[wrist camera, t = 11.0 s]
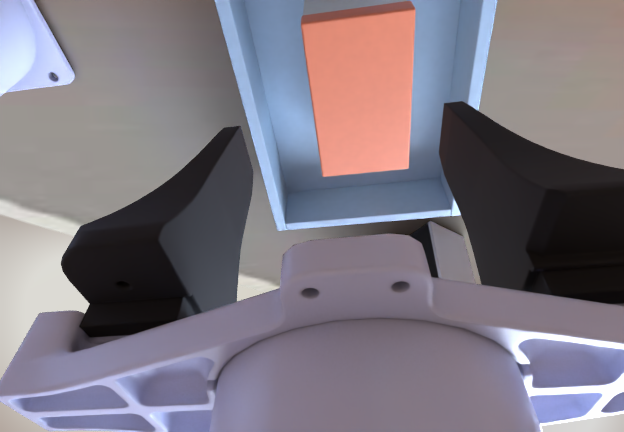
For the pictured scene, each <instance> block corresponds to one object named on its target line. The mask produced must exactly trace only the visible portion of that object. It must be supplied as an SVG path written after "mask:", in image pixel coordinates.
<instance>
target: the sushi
mask: <svg viewBox="0 0 624 432" xmlns="http://www.w3.org/2000/svg"><path fill="white" fill-rule="evenodd" d="M415 13H416V9H415V7H414V5H413V3H412V2H411V1H407V0H304V9H303V16H302V17H301V31H302V38H303V45H304V52H305V59H306V66H307V73H308V80H309V87H310V94H311V101H312V108H313V115H314V122H315V129H316V136H317V143H318V150H319V157H320V164H321V170H322V176H323V177H328V176H338V175H349V174H359V173H369V172H380V171H390V170H400V169H408V168H409V152H410V129H411V106H412V83H413V60H414V36H415Z"/></svg>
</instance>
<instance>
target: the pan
mask: <svg viewBox="0 0 624 432" xmlns="http://www.w3.org/2000/svg"><path fill="white" fill-rule="evenodd" d="M407 1H411V2H412V3H413V5H414V7H415V9H416V13H415V36H414V60H413V83H412V106H411V129H410V152H409V168H408V169H400V170H390V171H380V172H369V173H359V174H349V175H338V176H328V177H323V176H322V170H321V164H320V157H319V150H318V143H317V136H316V129H315V122H314V115H313V108H312V101H311V94H310V87H309V80H308V73H307V66H306V59H305V52H304V45H303V38H302V31H301V17H302V16H303V9H304V0H215V4H216V8H217V11H218V15H219V19H220V22H221V26H222V30H223V33H224V37H225V41H226V44H227V48H228V52H229V55H230V59H231V63H232V66H233V70H234V74H235V77H236V81H237V85H238V88H239V92H240V96H241V99H242V103H243V107H244V110H245V114H246V118H247V121H248V125H249V129H250V132H251V136H252V140H253V143H254V147H255V151H256V154H257V158H258V162H259V165H260V169H261V173H262V176H263V180H264V184H265V187H266V191H267V195H268V198H269V202H270V206H271V209H272V213H273V217H274V220H275V224H276V228H277V230H278V231H281V230H286V229H287V230H292V229H304V228H315V227H327V226H339V225H351V224H362V223H374V222H386V221H398V220H409V219H421V218H433V217H444V216H450V215H451V216H456V215H461V213H460V211H459V209H458V206H457V204H456V202H455V199H454V197H453V195H452V192H451V190H450V188H449V185H448V183H447V180H446V178H445V175H444V172H443V168H442V164H441V160H440V156H439V145H440V136H441V126H442V117H443V108H444V103H450V102H459V101H463V102H465V103H467V104H468V105H470V106H471V107H473V108H474V109H476V110H479V104H480V98H481V92H482V86H483V80H484V74H485V69H486V63H487V57H488V51H489V45H490V39H491V33H492V27H493V22H494V16H495V10H496V4H497V0H407Z"/></svg>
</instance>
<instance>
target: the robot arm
mask: <svg viewBox="0 0 624 432" xmlns="http://www.w3.org/2000/svg"><path fill="white" fill-rule="evenodd" d="M51 72H53V73H55V74H56V75H57V76H58V78H56V77H54V76H53V75H52V73H51ZM74 79H75V74H74V72H73V70H72V68H71V66H70V64H69V63H68V61H67V59H66V57H65V55H64V54H63V52H62V50H61V48H60V47H59V45H58V43H57V41H56V39H55V38H54V36H53V34H52V32H51V30H50V29H49V27H48V25H47V23H46V21H45V20H44V18H43V16H42V14H41V12H40V11H39V9H38V7H37V5H36V3H35V2H34V0H0V96H1V95H3V94H4V93H5V92H11V91H19V90H27V89H35V88H42V87H50V86H58V85H66V84H70V83H71V82H72V81H73V80H74ZM439 156H440V160H441V164H442V168H443V172H444V175H445V178H446V180H447V183H448V185H449V188H450V190H451V192H452V195H453V197H454V199H455V202H456V204H457V206H458V209H459V211H460V213H461V216H462V218H463V220H464V223H465V226H466V228H467V231H468V235H469V238H470V242H471V245H472V249H473V252H474V256H475V260H476V264H477V268H478V272H479V275H480V280H481V284H482V285H480V284H473V283H467V282H460V281H453V280H447V279H440V278H434V277H431V274H430V270H429V266H428V263H427V259H426V255H425V252H424V249H423V246H422V243H420V242H419V241H417V240H415V239H414V238H412V237H411V236H409V235H400V234H378V235H366V236H354V237H342V238H330V239H318V240H310V241H306V242H303V243H299V244H295V245H293V246H292V247H291V248H290V249H289V250H288V251H287V252H285V253H284V254H283V260H282V269H281V282H280V288H279V289H276V290H272V291H269V292H266V293H263V294H260V295H257V296H253V297H250V298H247V299H244V300H241V301H237V285H238V271H239V260H240V249H241V243H242V238H243V233H244V229H245V224H246V219H247V215H248V210H249V206H250V201H251V196H252V187H253V168H252V165H251V161H250V158H249V154H248V151H247V147H246V144H245V140H244V137H243V133H242V130H241V126H235V127H226V128H223V129H222V130H221V131H220V132H219V133H218V134H217V135H216V136H215V137H214V138H213V139H212V140H211V141H210V142H209V143H208V144H207V145H206V147H205V148H204V149H203V150H202V151H201V152H200V153H199V154H198V155H197V156H196V157H195V158H194V159H192V160H191V161H190V162H189V163H188V164H187V165H186V166H185V167H184V168H183V169H182V170H181V171H179V172H178V173H177V174H176V175H175V176H173V177H172V178H171V179H169V180H168V181H167V182H165V183H164V184H163V185H161V186H160V187H158V188H157V189H155V190H154V191H152V192H151V193H149V194H147V195H146V196H144V197H142V198H141V199H139V200H138V201H136V202H134V203H132V204H130V205H128V206H126V207H124V208H122V209H120V210H118V211H116V212H114V213H112V214H110V215H107V216H105V217H102V218H100V219H97V220H95V221H93V222H90V223H88V224H85V225H82V226H80V228H79V230H78V231H77V233H76V235H75V236H74V238H73V240H72V241H71V243H70V245H69V246H68V248H67V250H66V252H65V253H64V255H63V257H62V261H61V266H62V270H63V272H64V274H65V275H66V276H67V278H68V279H69V281H70V282H71V283H72V284H73V285H74V286H75V287H76V288H77V290H78V291H79V292H80V293H81V294H82V295H83V296H84V298H85V299H86V300H87V301H88V302H89V303H90V305H89V307H88V309H87V311H86V313H85V314H84V313H82V312H79V311H58V312H44V313H39V314H38V316H37V318H36V320H35V321H34V323H33V325H32V326H31V328H30V330H29V331H28V333H27V335H26V337H25V338H24V340H23V342H22V344H21V346H20V347H19V349H18V351H17V352H16V354H15V356H14V358H13V359H12V361H11V363H10V365H9V367H8V368H7V370H6V372H5V373H4V375H3V377H2V378H1V380H0V402H2V403H3V404H5V405H7V406H8V407H10V408H12V409H13V410H15V411H16V412H18V413H20V414H22V415H23V416H25V417H26V418H28V419H30V420H31V421H33V422H35V423H36V424H38V425H39V426H41V427H43V428H44V429H46V430H48V431H74V430H85V431H116V432H543V431H542V428H541V426H543V425H549V424H556V423H562V422H569V421H576V420H582V419H589V418H595V417H602V416H609V415H615V414H622V413H624V169H619V168H613V167H609V166H604V165H600V164H596V163H591V162H588V161H584V160H580V159H577V158H573V157H570V156H567V155H564V154H561V153H558V152H555V151H553V150H550V149H547V148H545V147H543V146H540V145H538V144H535V143H533V142H531V141H529V140H527V139H525V138H523V137H521V136H519V135H517V134H515V133H513V132H511V131H510V130H508V129H506V128H504V127H503V126H501V125H499V124H498V123H496V122H494V121H493V120H491V119H490V118H488V117H487V116H485V115H484V114H482V113H481V112H479V111H478V110H476V109H474V108H473V107H471V106H470V105H468V104H467V103H465V102H463V101H459V102H450V103H444V108H443V117H442V126H441V136H440V145H439Z"/></svg>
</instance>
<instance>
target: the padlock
mask: <svg viewBox="0 0 624 432" xmlns="http://www.w3.org/2000/svg"><path fill="white" fill-rule="evenodd" d="M410 236H411V237H412V238H414V239H415V240H417V241H419V242H420V243H422V246H423V249H424V252H425V255H426V259H427V263H428V266H429V270H430V274H431V277H434V278H440V279H447V280H453V281H460V282H467V283H473V284H476V283H475V279H474V275H473V271H472V267H471V264H470V260H469V256H468V252H467V249H466V245H465V241H464V237H463V236H461V235H459V234H457V233H454V232H452V231H450V230H448V229H446V228H444V227H442V226H440V225H438V224H436V223H434V222H432V221H430V222H428V223H427V224H425V225H424V226H423V227H421V228H420V229H418V230H417V231H415V232H414V233H413V234H411V235H410Z"/></svg>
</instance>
